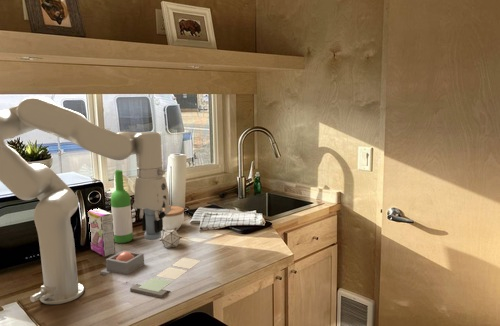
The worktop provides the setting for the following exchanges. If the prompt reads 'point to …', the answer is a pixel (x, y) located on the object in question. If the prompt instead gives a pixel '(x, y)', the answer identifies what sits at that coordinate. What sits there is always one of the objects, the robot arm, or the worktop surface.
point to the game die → (170, 238)
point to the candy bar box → (101, 232)
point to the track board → (156, 285)
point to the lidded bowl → (173, 218)
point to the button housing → (123, 263)
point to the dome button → (124, 256)
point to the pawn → (150, 225)
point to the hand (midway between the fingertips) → (152, 230)
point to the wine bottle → (121, 211)
